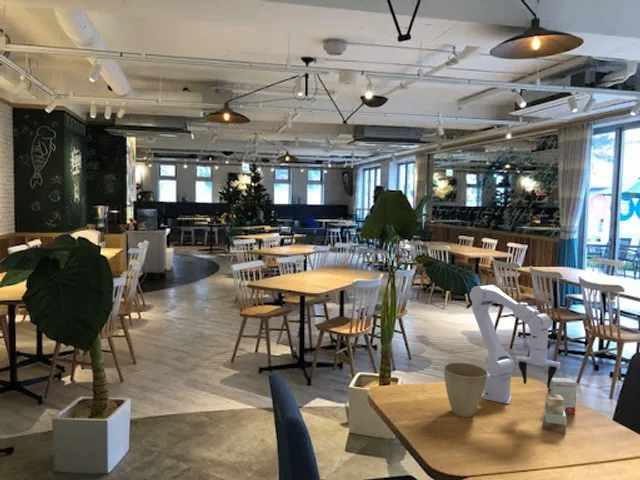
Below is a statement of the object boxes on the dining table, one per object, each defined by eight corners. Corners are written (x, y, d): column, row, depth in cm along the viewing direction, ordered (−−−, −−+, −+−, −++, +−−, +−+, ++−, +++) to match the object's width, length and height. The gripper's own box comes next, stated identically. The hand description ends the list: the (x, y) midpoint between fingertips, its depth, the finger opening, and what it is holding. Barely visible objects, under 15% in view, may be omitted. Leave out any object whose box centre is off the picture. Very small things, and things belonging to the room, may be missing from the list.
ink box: (570, 409, 187) (572, 378, 186) (575, 414, 182) (577, 382, 181) (545, 407, 188) (548, 376, 187) (550, 413, 183) (552, 381, 182)
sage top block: (545, 422, 169) (546, 413, 169) (544, 415, 175) (544, 406, 175) (565, 425, 167) (566, 416, 167) (563, 418, 173) (564, 409, 173)
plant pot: (438, 417, 177) (440, 372, 176) (445, 401, 191) (447, 360, 189) (483, 425, 171) (486, 379, 170) (486, 409, 185) (489, 366, 184)
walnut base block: (542, 430, 170) (542, 421, 170) (543, 422, 176) (544, 414, 176) (565, 435, 167) (565, 426, 166) (566, 427, 173) (566, 418, 173)
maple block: (548, 413, 169) (549, 398, 169) (544, 407, 174) (546, 393, 173) (563, 414, 169) (564, 400, 168) (558, 409, 173) (559, 394, 173)
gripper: (515, 347, 181) (513, 384, 182) (560, 353, 174) (558, 392, 175) (518, 342, 187) (516, 378, 188) (561, 348, 180) (559, 386, 181)
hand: (536, 384), depth 182 cm, fingers open, 7 cm apart
